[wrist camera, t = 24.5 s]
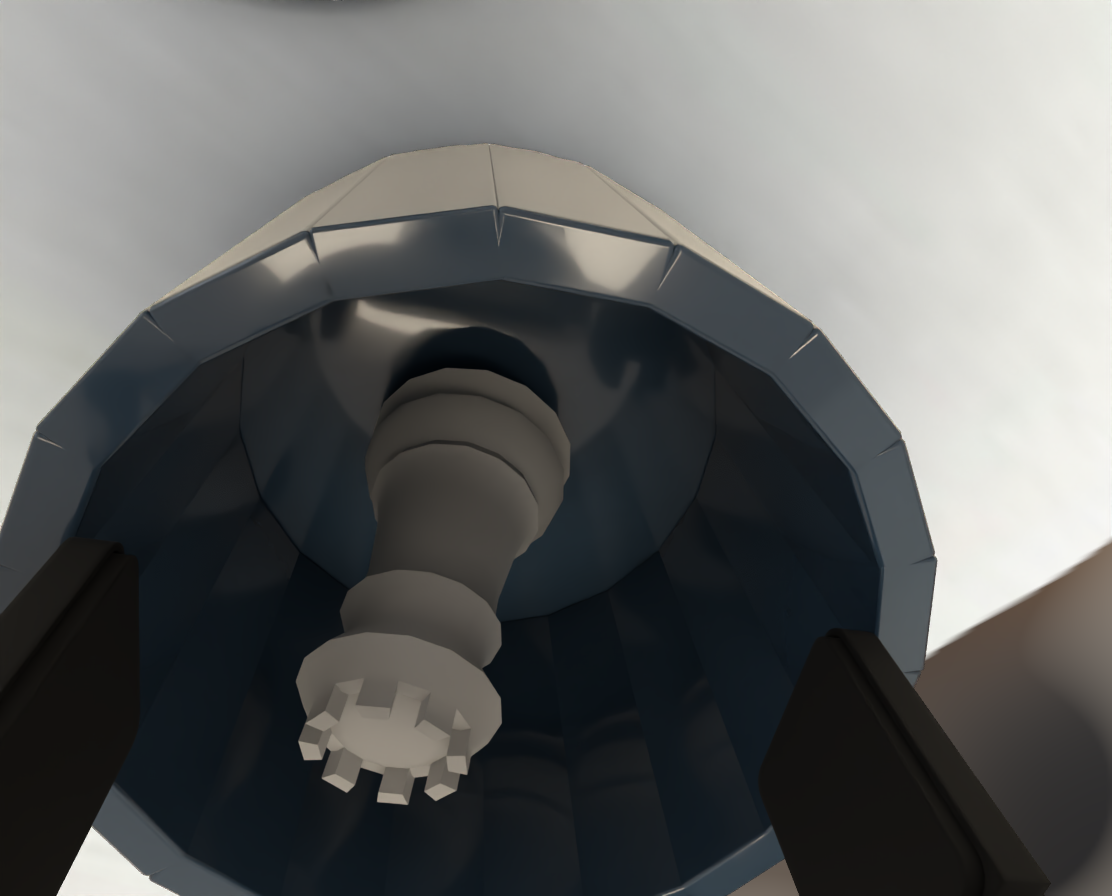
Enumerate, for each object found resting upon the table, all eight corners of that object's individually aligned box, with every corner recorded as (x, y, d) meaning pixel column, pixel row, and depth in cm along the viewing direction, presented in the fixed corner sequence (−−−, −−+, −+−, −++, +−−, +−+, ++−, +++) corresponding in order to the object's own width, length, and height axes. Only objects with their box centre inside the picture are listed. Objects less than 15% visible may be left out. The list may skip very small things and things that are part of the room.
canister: (221, 82, 16) (-63, 90, 7) (812, 210, 18) (1098, 327, 9) (203, 605, 21) (24, 951, 12) (665, 656, 23) (769, 981, 15)
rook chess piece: (610, 471, 18) (592, 800, 12) (457, 539, 20) (369, 858, 14) (498, 320, 16) (402, 618, 10) (338, 410, 18) (168, 714, 11)
